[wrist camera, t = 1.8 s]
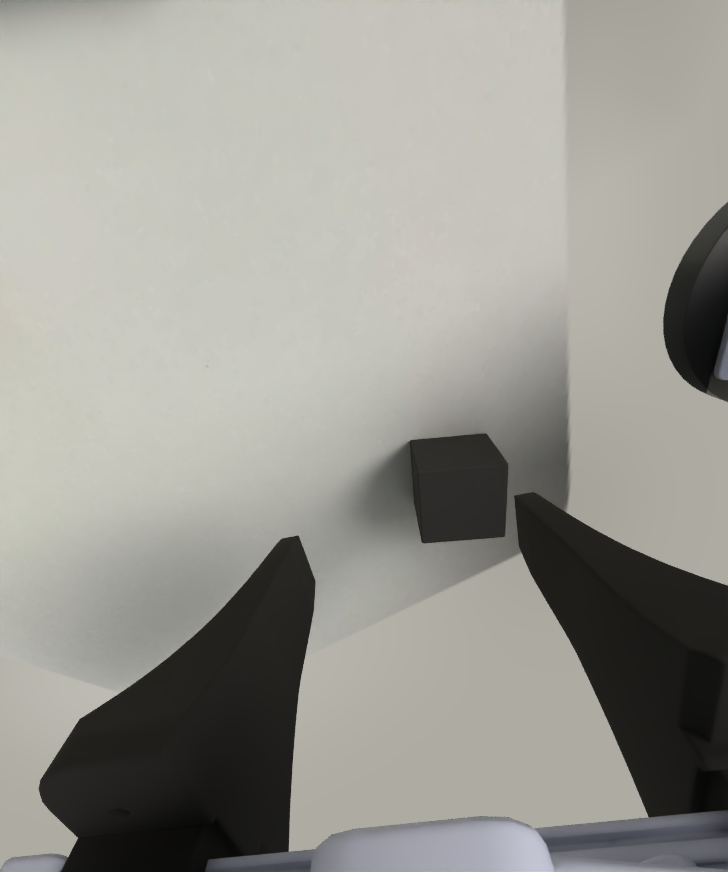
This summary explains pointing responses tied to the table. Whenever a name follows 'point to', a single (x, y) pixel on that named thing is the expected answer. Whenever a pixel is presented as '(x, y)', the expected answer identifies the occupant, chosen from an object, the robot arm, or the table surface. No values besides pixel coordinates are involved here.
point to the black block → (459, 488)
